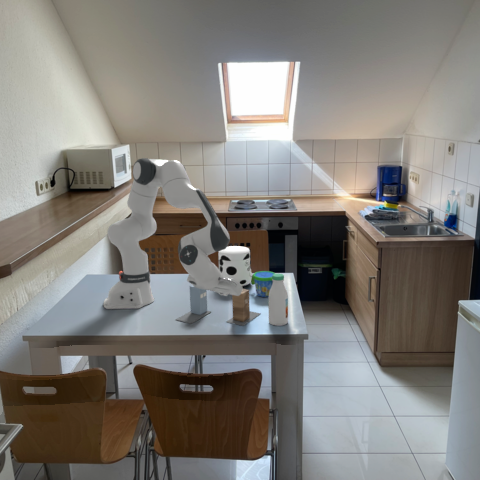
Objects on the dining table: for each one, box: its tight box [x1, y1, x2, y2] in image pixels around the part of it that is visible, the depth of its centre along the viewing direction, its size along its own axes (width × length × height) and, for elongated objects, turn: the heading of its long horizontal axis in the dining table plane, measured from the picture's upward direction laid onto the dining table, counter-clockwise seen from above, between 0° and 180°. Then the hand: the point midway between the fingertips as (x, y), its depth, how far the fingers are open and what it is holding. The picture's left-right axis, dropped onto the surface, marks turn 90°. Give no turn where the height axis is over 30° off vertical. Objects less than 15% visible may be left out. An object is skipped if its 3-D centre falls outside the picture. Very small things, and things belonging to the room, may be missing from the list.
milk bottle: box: [268, 273, 289, 327], centre depth 188 cm, size 8×8×20 cm
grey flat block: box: [175, 310, 212, 325], centre depth 198 cm, size 14×8×1 cm, turn 148°
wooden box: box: [231, 288, 251, 322], centre depth 192 cm, size 5×5×12 cm
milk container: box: [218, 245, 253, 287], centre depth 234 cm, size 17×17×18 cm
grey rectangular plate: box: [225, 310, 261, 327], centre depth 195 cm, size 14×8×1 cm, turn 148°
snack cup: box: [250, 270, 276, 298], centre depth 220 cm, size 16×10×10 cm
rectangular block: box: [189, 284, 208, 315], centre depth 200 cm, size 5×5×12 cm
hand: (224, 293), depth 180 cm, fingers closed
